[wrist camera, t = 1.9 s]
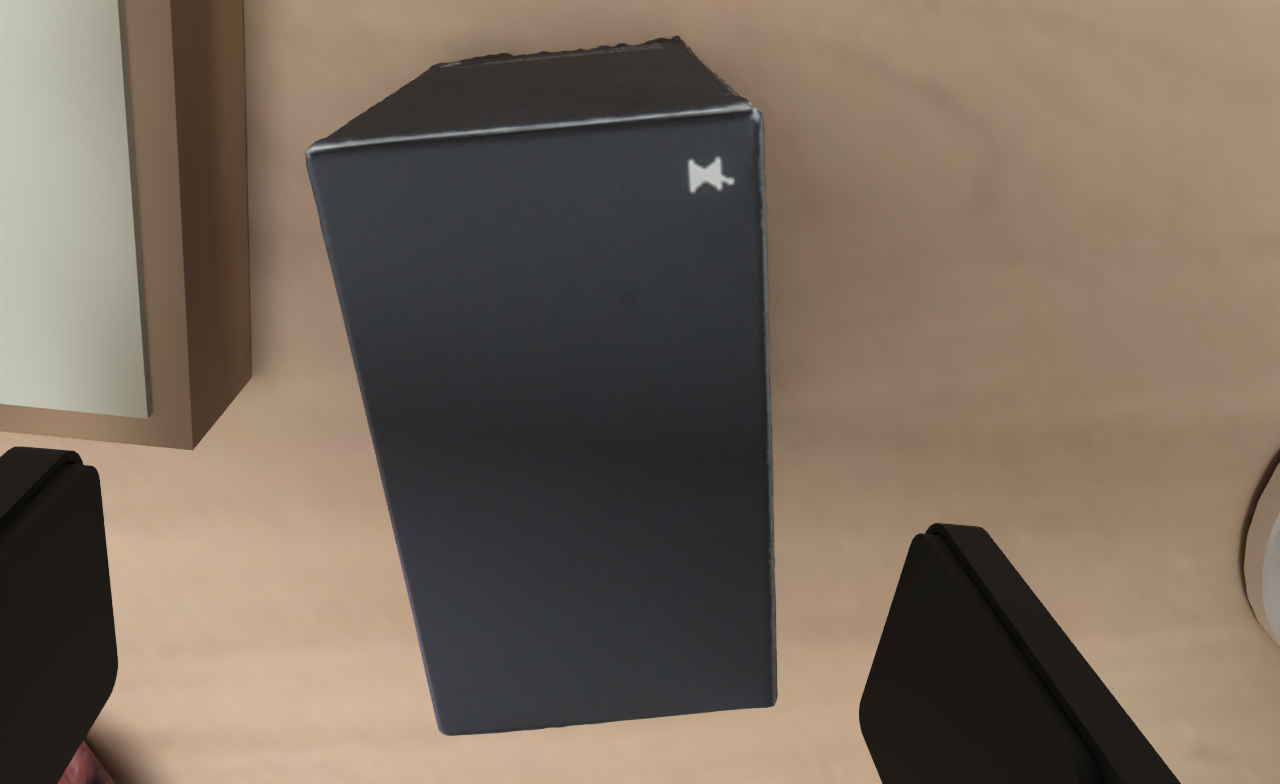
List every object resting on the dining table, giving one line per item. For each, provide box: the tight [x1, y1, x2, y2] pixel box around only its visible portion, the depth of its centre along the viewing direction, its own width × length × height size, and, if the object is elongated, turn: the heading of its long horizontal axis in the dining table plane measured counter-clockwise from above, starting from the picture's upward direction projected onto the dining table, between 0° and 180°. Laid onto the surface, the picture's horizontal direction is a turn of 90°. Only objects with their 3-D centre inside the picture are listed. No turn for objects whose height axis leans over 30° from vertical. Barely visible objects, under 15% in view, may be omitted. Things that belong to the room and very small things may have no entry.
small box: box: [305, 36, 778, 736], centre depth 19 cm, size 11×6×10 cm, turn 5°
